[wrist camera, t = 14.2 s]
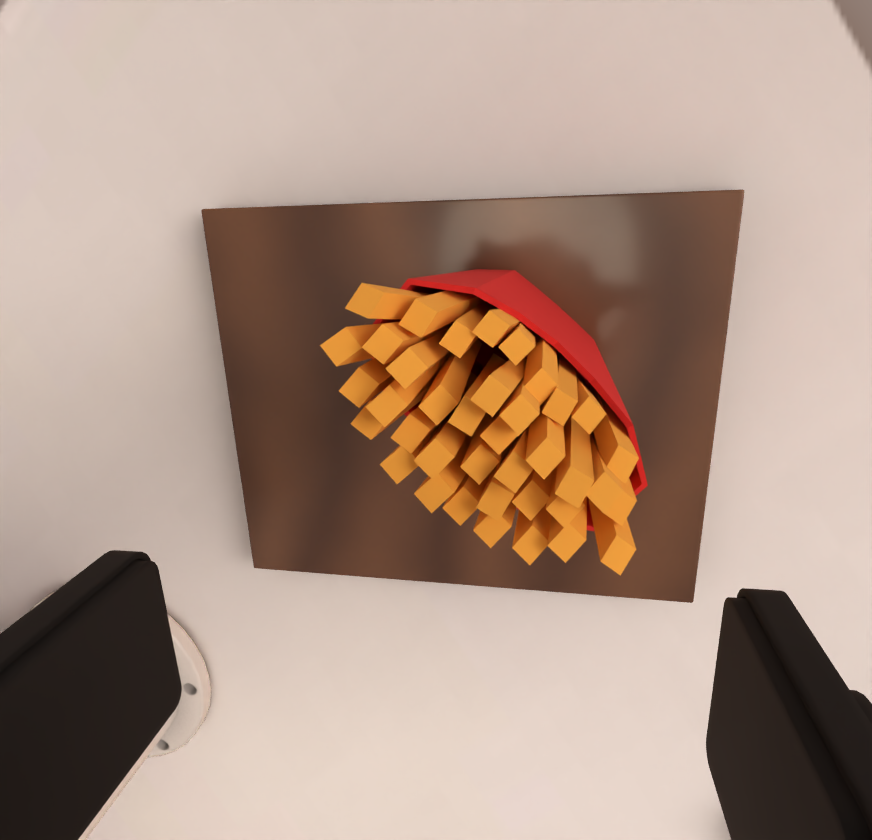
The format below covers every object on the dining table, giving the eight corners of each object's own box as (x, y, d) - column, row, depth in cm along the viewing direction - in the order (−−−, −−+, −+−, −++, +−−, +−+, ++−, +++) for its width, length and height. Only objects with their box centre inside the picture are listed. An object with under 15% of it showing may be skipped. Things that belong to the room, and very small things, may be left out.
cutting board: (266, 553, 34) (253, 568, 32) (218, 209, 28) (200, 209, 26) (687, 584, 30) (693, 603, 28) (733, 190, 24) (745, 189, 22)
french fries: (634, 371, 25) (708, 520, 13) (563, 441, 27) (569, 632, 15) (467, 223, 25) (383, 239, 13) (403, 304, 26) (274, 387, 14)
